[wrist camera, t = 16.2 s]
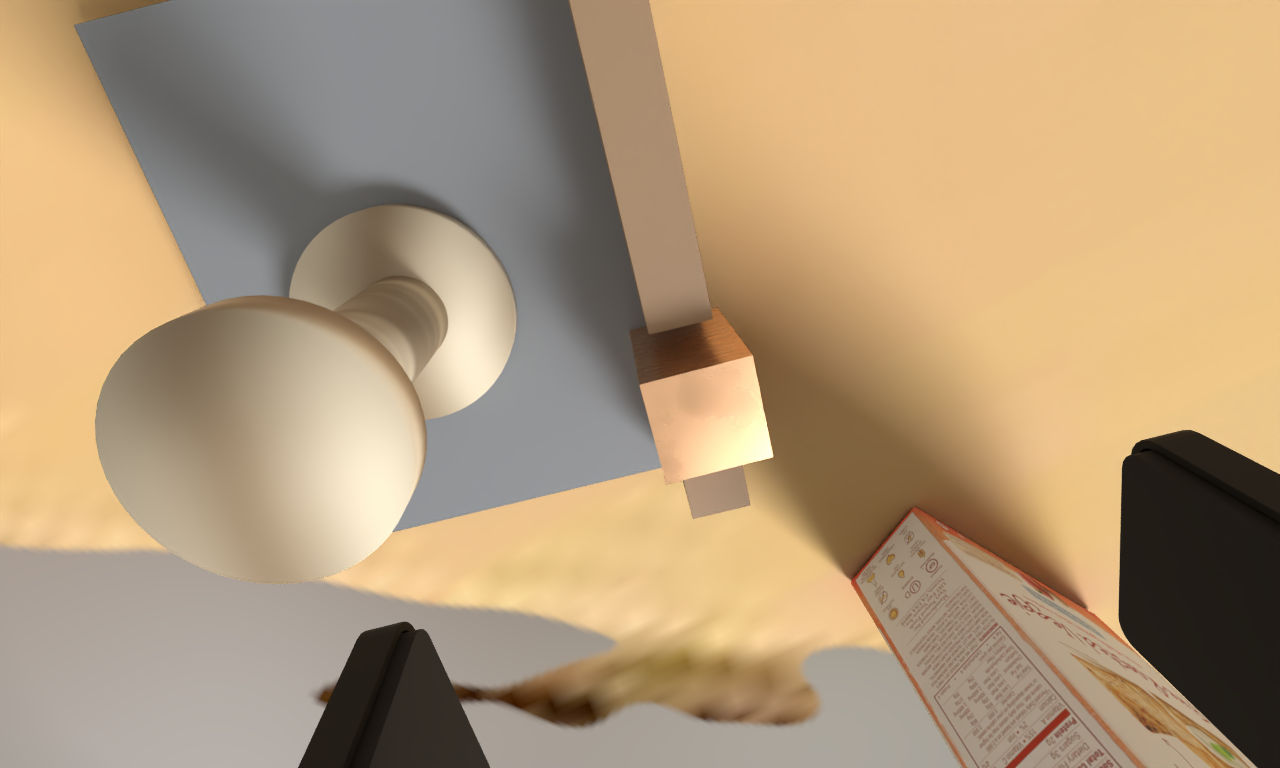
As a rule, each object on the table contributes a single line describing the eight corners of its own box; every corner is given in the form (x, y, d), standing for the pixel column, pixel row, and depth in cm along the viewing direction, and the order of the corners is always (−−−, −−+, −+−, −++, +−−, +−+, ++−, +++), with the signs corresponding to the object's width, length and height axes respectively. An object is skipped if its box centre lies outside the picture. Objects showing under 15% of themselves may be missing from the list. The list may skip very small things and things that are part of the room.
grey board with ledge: (608, -99, 26) (613, -174, 19) (721, 438, 33) (750, 505, 27) (102, 31, 26) (-50, -2, 20) (333, 532, 34) (276, 618, 28)
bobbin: (480, 179, 27) (374, 218, 14) (542, 383, 30) (503, 570, 17) (265, 233, 27) (-38, 321, 14) (348, 430, 30) (164, 651, 17)
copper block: (717, 307, 30) (752, 355, 23) (735, 389, 31) (773, 457, 24) (629, 330, 30) (639, 384, 23) (650, 411, 31) (666, 484, 25)
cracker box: (1097, 605, 39) (1615, 1086, 19) (1024, 678, 40) (1436, 1192, 21) (915, 495, 35) (1316, 939, 16) (844, 579, 37) (1129, 1079, 17)
